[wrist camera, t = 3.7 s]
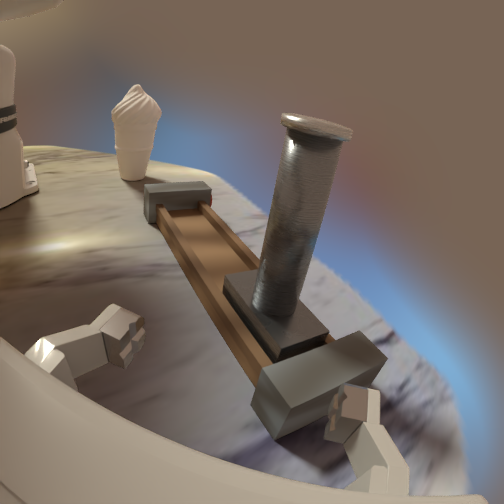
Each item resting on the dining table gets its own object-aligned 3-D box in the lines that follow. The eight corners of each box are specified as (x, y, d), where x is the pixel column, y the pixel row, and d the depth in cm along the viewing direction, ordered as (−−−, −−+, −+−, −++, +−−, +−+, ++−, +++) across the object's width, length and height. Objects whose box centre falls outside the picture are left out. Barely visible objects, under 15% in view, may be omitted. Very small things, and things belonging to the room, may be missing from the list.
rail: (143, 213, 40) (144, 184, 38) (202, 208, 44) (206, 181, 42) (274, 440, 17) (291, 408, 15) (367, 391, 21) (391, 356, 19)
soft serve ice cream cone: (163, 181, 51) (173, 86, 43) (116, 188, 46) (122, 85, 38) (145, 167, 56) (153, 83, 48) (103, 173, 51) (108, 83, 43)
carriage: (221, 295, 25) (251, 105, 18) (264, 286, 27) (302, 112, 20) (274, 368, 20) (342, 135, 12) (320, 351, 22) (395, 145, 14)
